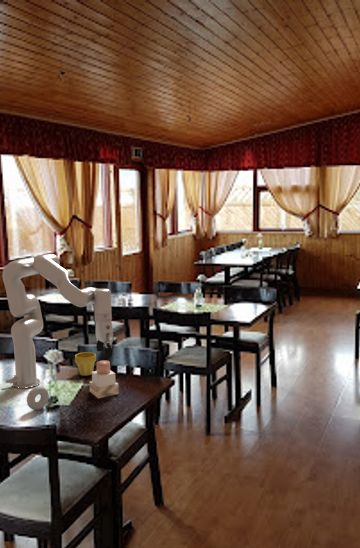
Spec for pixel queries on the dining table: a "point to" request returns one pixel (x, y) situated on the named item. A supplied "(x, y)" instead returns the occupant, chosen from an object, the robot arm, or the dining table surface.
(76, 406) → the dining table surface
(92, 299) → the robot arm
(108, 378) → the tower top block
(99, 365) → the terracotta cylinder
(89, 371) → the plant pot
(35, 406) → the donut
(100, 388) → the tower base block
